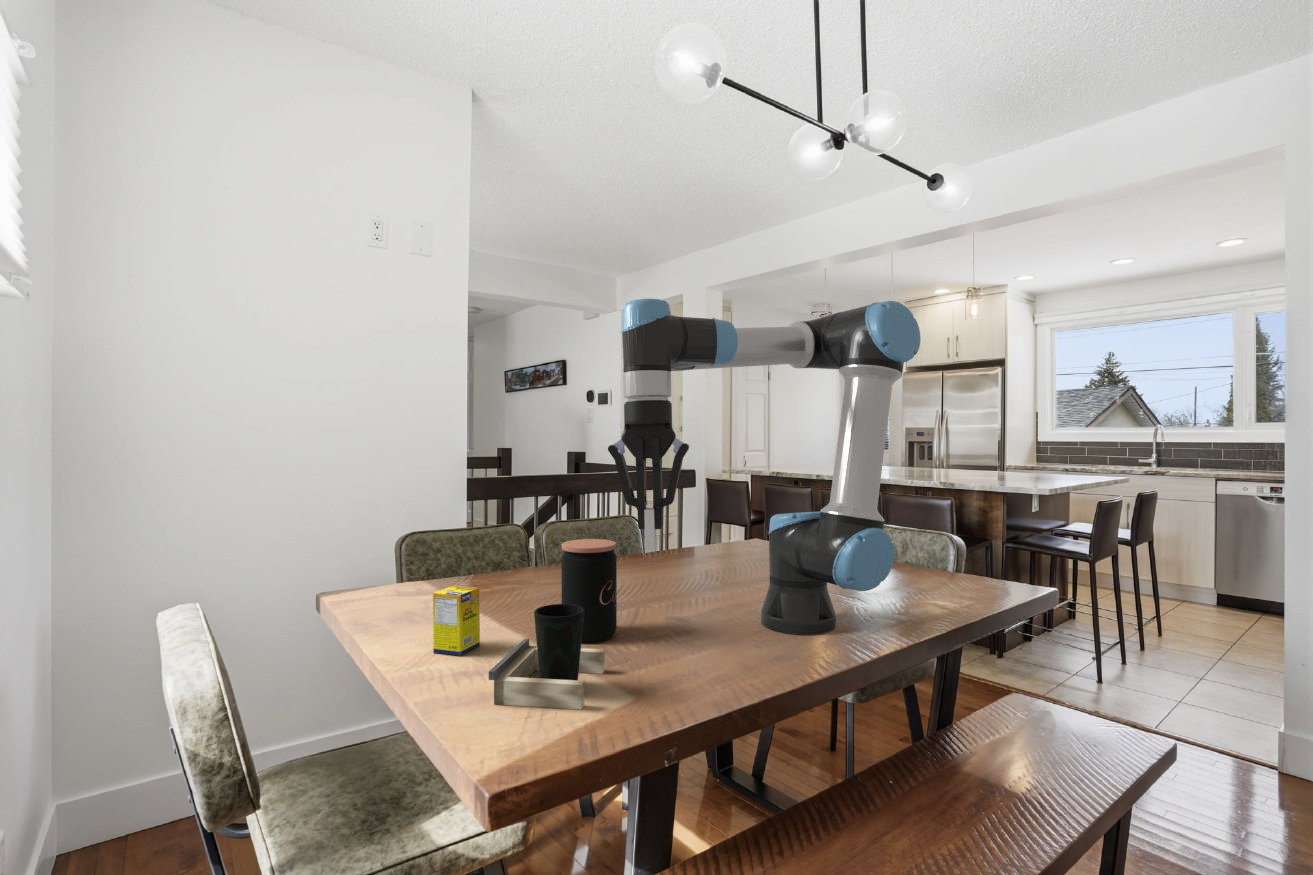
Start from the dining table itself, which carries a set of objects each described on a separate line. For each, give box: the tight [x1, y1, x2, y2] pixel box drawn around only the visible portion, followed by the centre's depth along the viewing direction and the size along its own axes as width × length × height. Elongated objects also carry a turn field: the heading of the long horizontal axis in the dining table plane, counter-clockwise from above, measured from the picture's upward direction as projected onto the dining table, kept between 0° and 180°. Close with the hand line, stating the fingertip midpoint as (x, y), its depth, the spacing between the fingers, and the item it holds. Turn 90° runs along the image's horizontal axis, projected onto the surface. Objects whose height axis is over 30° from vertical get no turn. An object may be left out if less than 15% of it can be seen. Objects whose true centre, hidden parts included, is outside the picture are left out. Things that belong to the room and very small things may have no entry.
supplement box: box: [432, 585, 481, 657], centre depth 114 cm, size 6×6×11 cm
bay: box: [488, 638, 606, 710], centre depth 97 cm, size 14×15×5 cm
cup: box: [533, 603, 584, 681], centre depth 96 cm, size 8×8×12 cm
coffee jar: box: [560, 538, 618, 644], centre depth 122 cm, size 11×11×18 cm
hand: (651, 549), depth 98 cm, fingers closed
